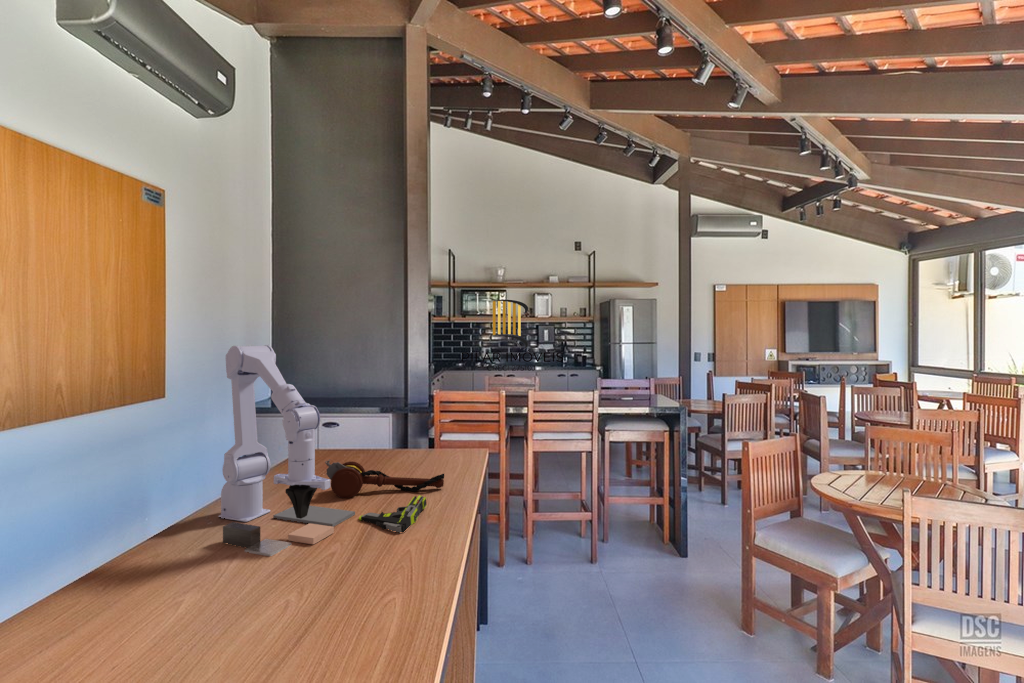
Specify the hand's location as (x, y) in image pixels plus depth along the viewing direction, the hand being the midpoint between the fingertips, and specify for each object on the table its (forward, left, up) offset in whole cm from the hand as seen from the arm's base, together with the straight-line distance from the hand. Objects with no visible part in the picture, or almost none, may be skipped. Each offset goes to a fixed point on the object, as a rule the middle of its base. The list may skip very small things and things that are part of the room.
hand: (301, 516), depth 116 cm
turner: (-7, -8, -4) cm, 11 cm away
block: (-1, 0, -4) cm, 4 cm away
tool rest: (-6, +11, -4) cm, 13 cm away
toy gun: (+13, +17, -5) cm, 22 cm away
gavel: (+1, +35, -5) cm, 35 cm away
